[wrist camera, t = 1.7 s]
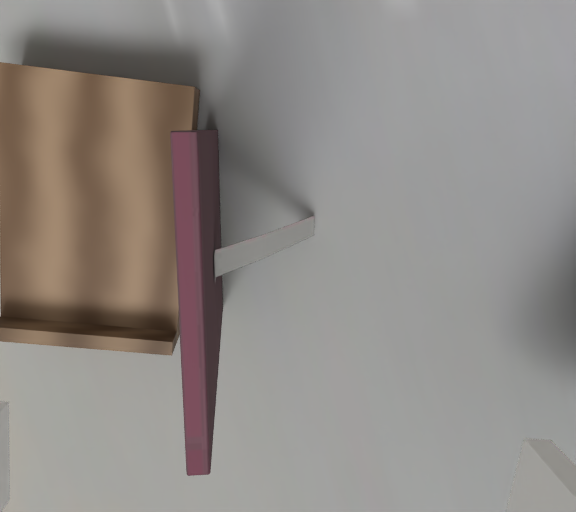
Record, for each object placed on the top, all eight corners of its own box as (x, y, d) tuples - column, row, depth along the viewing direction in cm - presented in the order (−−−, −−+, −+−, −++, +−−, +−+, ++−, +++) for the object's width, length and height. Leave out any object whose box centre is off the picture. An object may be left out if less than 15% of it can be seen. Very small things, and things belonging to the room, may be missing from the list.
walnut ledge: (199, 90, 45) (190, 84, 39) (182, 327, 50) (171, 355, 44) (21, 68, 44) (-18, 57, 38) (21, 313, 49) (-13, 340, 43)
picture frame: (204, 129, 46) (147, 130, 22) (315, 130, 47) (379, 131, 22) (210, 308, 50) (168, 477, 26) (312, 306, 51) (364, 470, 26)
